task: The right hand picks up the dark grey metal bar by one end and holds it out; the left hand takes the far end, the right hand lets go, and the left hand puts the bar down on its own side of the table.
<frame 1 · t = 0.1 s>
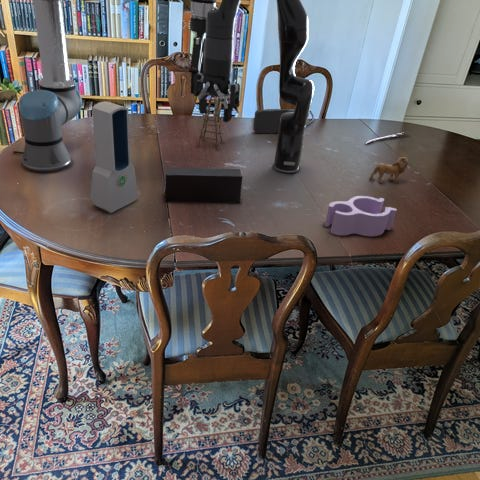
left hand: (199, 88, 153), 28 cm above the table, tool pointing down, fingers open, 13 cm apart
right hand: (214, 117, 128), 29 cm above the table, tool pointing down, fingers open, 8 cm apart
sword: (387, 139, 213), on the table
bar: (202, 198, 149), on the table
lion figurine: (386, 180, 174), on the table
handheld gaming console: (277, 132, 208), on the table
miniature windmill: (210, 144, 188), on the table
clip: (356, 226, 143), on the table
electronic device: (114, 203, 141), on the table
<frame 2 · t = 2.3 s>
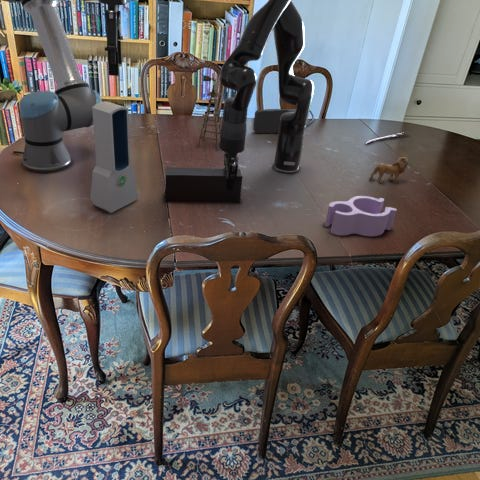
left hand: (115, 69, 136), 35 cm above the table, tool pointing down, fingers open, 13 cm apart
right hand: (228, 185, 148), 5 cm above the table, tool pointing down, fingers closed on bar, 5 cm apart
bar: (202, 198, 149), on the table, touching right hand
everything else where it was.
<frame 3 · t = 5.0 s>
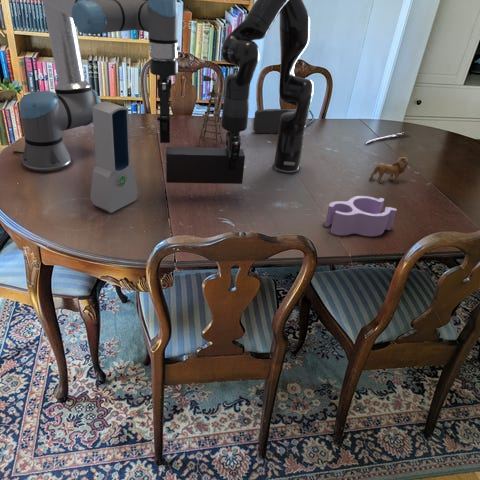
left hand: (165, 134, 138), 20 cm above the table, tool pointing down, fingers open, 13 cm apart
right hand: (230, 165, 144), 12 cm above the table, tool pointing down, fingers closed on bar, 5 cm apart
bar: (204, 179, 146), point 7 cm above the table, touching right hand
everything else where it was.
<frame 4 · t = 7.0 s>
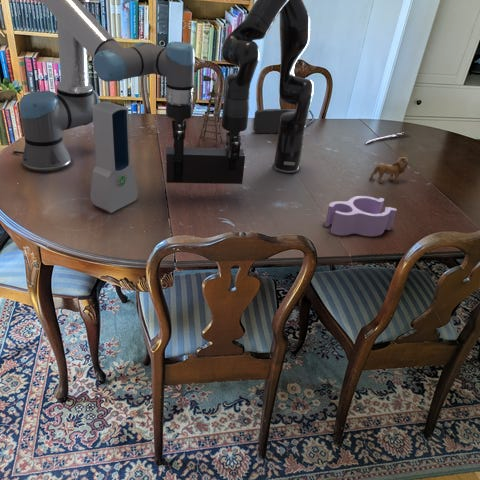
left hand: (177, 176, 144), 7 cm above the table, tool pointing down, fingers closed on bar, 5 cm apart
right hand: (231, 165, 144), 12 cm above the table, tool pointing down, fingers closed on bar, 5 cm apart
bar: (204, 179, 146), point 7 cm above the table, touching left hand, right hand
everything else where it was.
when the right hand's fingers open (12 cm above the table, at t = 7.9 s): bar stays where it is, held by the left hand.
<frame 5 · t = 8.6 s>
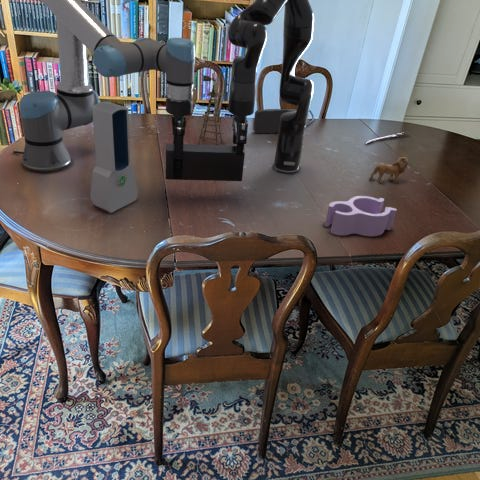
left hand: (177, 173, 143), 8 cm above the table, tool pointing down, fingers closed on bar, 5 cm apart
right hand: (237, 149, 142), 17 cm above the table, tool pointing down, fingers open, 8 cm apart
bar: (203, 176, 145), point 8 cm above the table, touching left hand
everything else where it was.
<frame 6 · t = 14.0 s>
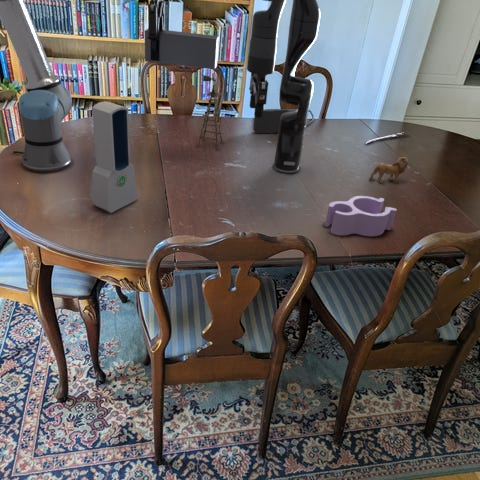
left hand: (157, 58, 157), 34 cm above the table, tool pointing down, fingers closed on bar, 5 cm apart
right hand: (255, 112, 136), 29 cm above the table, tool pointing down, fingers open, 8 cm apart
bar: (181, 63, 157), point 34 cm above the table, touching left hand
everything else where it was.
when the left hand's fingers open (2 cm above the table, at t = 20.9 s): bar drops 1 cm, on the table.
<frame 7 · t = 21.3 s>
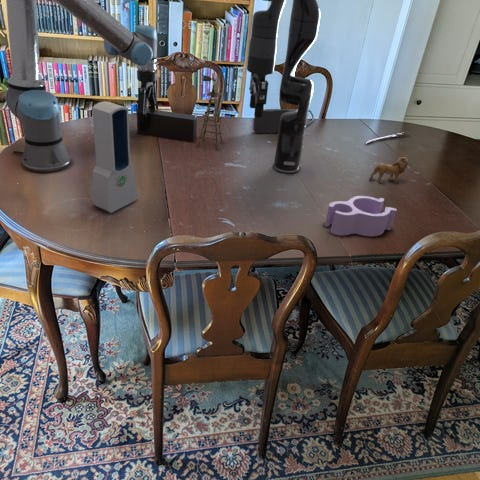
left hand: (147, 125, 191), 3 cm above the table, tool pointing down, fingers open, 10 cm apart
right hand: (255, 112, 136), 29 cm above the table, tool pointing down, fingers open, 8 cm apart
bar: (166, 136, 192), on the table
everything else where it was.
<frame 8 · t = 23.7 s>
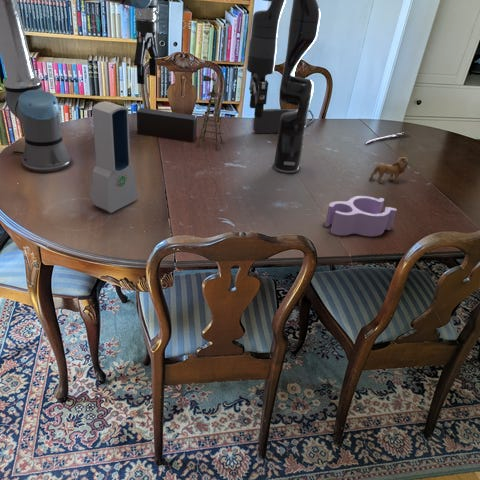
left hand: (147, 79, 181), 22 cm above the table, tool pointing down, fingers open, 13 cm apart
right hand: (255, 112, 136), 29 cm above the table, tool pointing down, fingers open, 8 cm apart
nothing on the table moved.
at the end: bar inside the target area (8.1 cm from its centre), on the table; the left hand is holding nothing; the right hand is holding nothing; bar at rest at the end (0.0 cm/s) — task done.
